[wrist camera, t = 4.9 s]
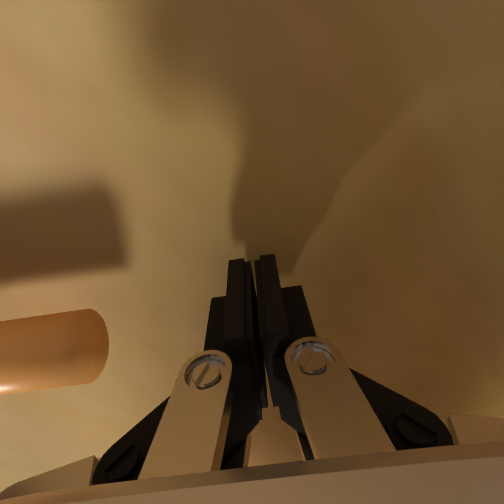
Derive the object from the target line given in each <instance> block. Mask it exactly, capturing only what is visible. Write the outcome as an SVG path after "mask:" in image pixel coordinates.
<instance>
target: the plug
mask: <svg viewBox="0 0 504 504" xmlns="http://www.w3.org/2000/svg"><path fill="white" fill-rule="evenodd" d="M108 350H109V338H108V331H107V327H106V325H105V322H104V320H103V318H102V317H101V316H100V314H99V313H98V312H96V311H94V310H92V309H83V310H76V311H69V312H63V313H56V314H49V315H42V316H35V317H28V318H21V319H14V320H7V321H0V395H4V394H11V393H19V392H27V391H34V390H42V389H49V388H57V387H65V386H72V385H80V384H87V383H91V382H93V381H94V380H96V379H97V378H98V377H99V375H100V374H101V372H102V371H103V369H104V366H105V364H106V361H107V357H108Z"/></svg>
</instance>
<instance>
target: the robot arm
mask: <svg viewBox="0 0 504 504" xmlns="http://www.w3.org/2000/svg"><path fill="white" fill-rule="evenodd" d="M255 275H256V290H257V296H256V290H255V285H254V279H253V274H252V268H251V263H250V261H248V262H245V261H244V258H241V259H235V260H229V265H228V278H227V290H226V296H222V297H215V298H212V299H211V304H210V311H209V318H208V325H207V331H206V338H205V345H204V351H202V352H200V353H197V354H195V355H194V356H192V357H191V358H189V359H188V360H187V361H186V362H185V363H184V365H183V366H182V368H181V370H180V372H179V375H178V377H177V380H176V382H175V385H174V387H173V390H172V393H171V395H170V396H169V397H168V398H167V399H166V400H165V401H163V402H162V403H161V404H160V405H159V406H158V407H156V408H155V409H154V410H153V411H152V412H151V413H149V414H148V415H147V416H146V417H145V418H144V419H142V420H141V421H140V422H139V423H138V424H137V425H136V426H134V427H133V428H132V429H131V430H130V431H129V432H127V433H126V434H125V435H124V436H123V437H122V438H120V439H119V440H118V441H117V442H116V443H115V444H113V445H112V446H111V447H110V448H109V449H108V450H107V452H106V453H105V454H104V455H103V456H102V457H101V458H98V459H97V458H96V457H95V455H93V456H90V457H88V458H85V459H82V460H79V461H76V462H73V463H71V464H68V465H65V466H62V467H59V468H57V469H54V470H51V471H48V472H45V473H42V474H40V475H37V476H34V477H31V478H28V479H26V480H23V481H20V482H17V483H15V484H13V485H12V486H10V487H8V488H6V489H5V490H3V491H2V492H1V493H0V504H504V419H502V418H492V417H482V416H472V415H462V414H452V413H449V414H448V418H447V417H438V416H437V415H435V414H434V413H432V412H431V411H429V410H428V409H426V408H424V407H423V406H421V405H419V404H417V403H415V402H413V401H411V400H409V399H407V398H405V397H404V396H402V395H400V394H398V393H396V392H394V391H392V390H390V389H388V388H386V387H384V386H383V385H381V384H379V383H377V382H375V381H373V380H371V379H369V378H367V377H365V376H364V375H362V374H360V373H358V372H356V371H354V370H352V369H350V368H349V367H348V366H347V364H346V362H345V361H344V359H343V357H342V355H341V354H340V352H339V350H338V349H337V348H336V347H335V345H334V344H332V343H331V342H329V341H328V340H326V339H323V338H320V337H316V334H315V330H314V327H313V323H312V320H311V317H310V313H309V310H308V306H307V303H306V300H305V296H304V293H303V290H302V287H301V285H300V286H293V287H286V288H281V286H280V281H279V276H278V270H277V265H276V260H275V255H274V254H268V255H262V256H260V260H255ZM264 361H265V362H264ZM265 366H266V371H267V376H268V382H269V387H270V392H271V397H272V402H273V407H275V406H279V409H280V414H281V419H282V420H283V421H284V422H286V423H287V424H288V425H290V426H291V427H292V428H294V429H295V432H296V437H297V441H298V444H299V447H300V450H301V454H302V457H303V460H304V461H298V462H289V463H280V464H271V465H262V466H253V467H248V462H249V453H250V445H251V433H250V432H251V431H252V430H253V429H254V427H255V426H256V425H257V424H258V423H259V420H262V408H267V407H268V399H267V387H266V374H265Z"/></svg>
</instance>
